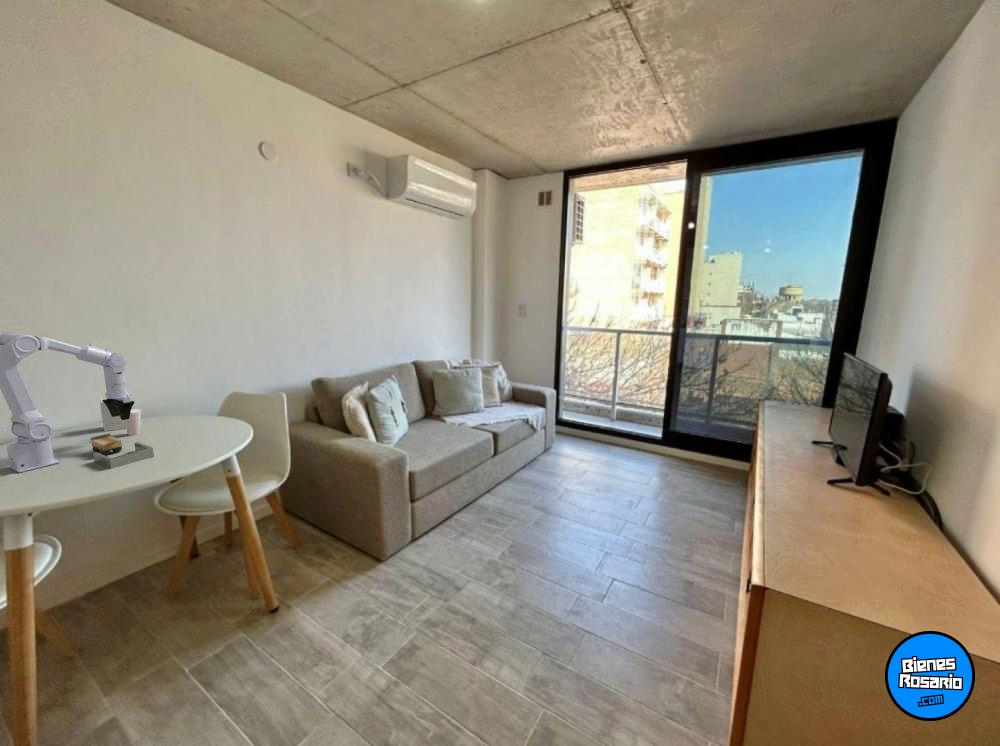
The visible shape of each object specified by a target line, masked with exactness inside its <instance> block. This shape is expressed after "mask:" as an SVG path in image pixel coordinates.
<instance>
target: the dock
mask: <svg viewBox="0 0 1000 746" xmlns="http://www.w3.org/2000/svg"><path fill="white" fill-rule="evenodd" d="M134 450H135V451H133V452H130V453H126V454H122V455H118V456H114V457H109V456H107V455H102V454H100V453H99V452H93V453H92V456H93V462H94V463H96V464H98V465H101V466H102V467H106V468H108V469H114V468H117V467H120V466H121V467H123V466H125V465H129V464H131V463H135V462H141V461H142V460H146V459H149V458H153V457H155V454H154V447H152V446H150V445H147V444H145V443H142V442H139V441H138V442H137V441H136V442H134Z"/></svg>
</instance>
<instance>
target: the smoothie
mask: <svg viewBox="0 0 1000 746" xmlns="http://www.w3.org/2000/svg"><path fill="white" fill-rule="evenodd" d="M141 414H142V409H140V408H139V409H138V408H136V409H135V408H134V409H131V412H130V418H129V419H127V420H123V421H124V424H125V427H126V428H125V430H126V433H127V435H128V436H136V435H140V434H141Z"/></svg>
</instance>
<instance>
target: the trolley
mask: <svg viewBox="0 0 1000 746" xmlns="http://www.w3.org/2000/svg"><path fill="white" fill-rule="evenodd" d="M90 441H91V446H92V448H91V449H92V451H93V453H96V452H97V453H100V454H102V455H105V456H107V455H109V454H110V452H111V451H112V452H114V453H119V452H121V451H122V450H123V445H122V440H121V439H119V438H117V437H114V436H111V433H104V434H100V435H95V436H92V437H90Z"/></svg>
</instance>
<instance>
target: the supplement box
mask: <svg viewBox="0 0 1000 746" xmlns="http://www.w3.org/2000/svg"><path fill="white" fill-rule="evenodd" d="M104 399H107V398H106V397H105V398H100V399H99V405H100V406H99V407H100V411H101V419H102V426H103V431H104V432H108V431H114V430H115V431H116V430H122V429H126V427H125V424H124V421H123V420H121V418H120V416H116V417H112V416H111V414H110V412H109V409H108V408H107V406H106V405H105V403H104V402H103V401H102V400H104Z"/></svg>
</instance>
